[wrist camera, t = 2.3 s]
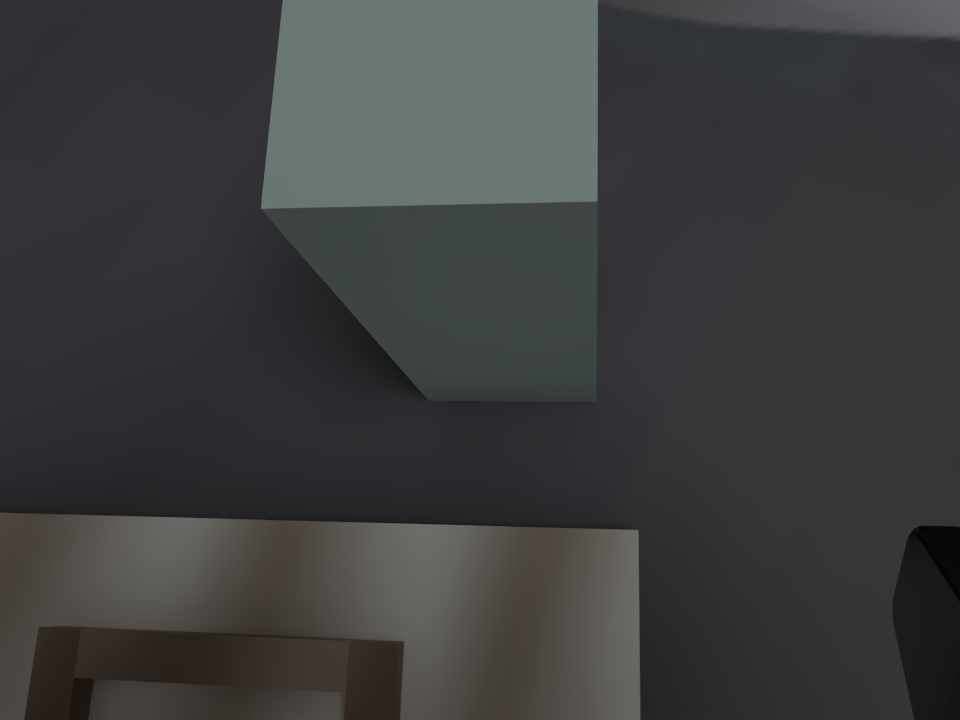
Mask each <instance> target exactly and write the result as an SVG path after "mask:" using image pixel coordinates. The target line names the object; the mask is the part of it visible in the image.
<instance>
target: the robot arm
mask: <svg viewBox="0 0 960 720" xmlns="http://www.w3.org/2000/svg"><path fill="white" fill-rule="evenodd" d="M893 622H894V628H895V633H896V638H897V642H898V647H899V651H900V656H901V660H902V665H903V670H904V674H905V679H906V683H907V688H908V692H909V697H910V702H911V706H912V711H913V715H914V720H960V527H953V526H919V527H917V528H915V529H913V530H912V532H911V533H910V535H909V537H908V540H907V543H906V547H905V552H904V556H903V560H902V564H901V568H900V572H899V576H898V581H897V585H896V589H895V593H894V598H893Z"/></svg>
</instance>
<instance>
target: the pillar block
mask: <svg viewBox="0 0 960 720" xmlns="http://www.w3.org/2000/svg"><path fill="white" fill-rule="evenodd" d="M597 151H598V0H283V5H282V14H281V24H280V33H279V43H278V52H277V61H276V71H275V80H274V90H273V99H272V108H271V118H270V127H269V136H268V146H267V155H266V165H265V174H264V183H263V193H262V202H261V210H262V211H263V212H264V213H265V214H266V215H267V216H268V218H269V219H270V220H271V221H272V222H273V223H274V224H275V226H276V227H277V228H278V229H279V230H280V231H281V232H282V234H283V235H284V236H285V237H286V238H287V239H288V240H289V242H290V243H291V244H292V245H293V246H294V247H295V248H296V250H297V251H298V252H299V253H300V254H301V255H302V256H303V258H304V259H305V260H306V261H307V262H308V263H309V264H310V266H311V267H312V268H313V269H314V270H315V271H316V272H317V274H318V275H319V276H320V277H321V278H322V279H323V280H324V282H325V283H326V284H327V285H328V286H329V287H330V288H331V290H332V291H333V292H334V293H335V294H336V295H337V297H338V298H339V299H340V300H341V301H342V302H343V303H344V305H345V306H346V307H347V308H348V309H349V310H350V311H351V313H352V314H353V315H354V316H355V317H356V318H357V319H358V321H359V322H360V323H361V324H362V325H363V326H364V327H365V329H366V330H367V331H368V332H369V333H370V334H371V335H372V337H373V338H374V339H375V340H376V341H377V342H378V343H379V345H380V346H381V347H382V348H383V349H384V350H385V351H386V353H387V354H388V355H389V356H390V357H391V358H392V359H393V361H394V362H395V363H396V364H397V365H398V366H399V367H400V369H401V370H402V371H403V372H404V373H405V374H406V375H407V377H408V378H409V379H410V380H411V381H412V382H413V383H414V385H415V386H416V387H417V388H418V389H419V390H420V391H421V393H422V394H423V395H424V396H425V397H426V398H427V400H428V401H503V402H597Z"/></svg>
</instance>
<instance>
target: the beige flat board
mask: <svg viewBox="0 0 960 720" xmlns="http://www.w3.org/2000/svg"><path fill="white" fill-rule="evenodd" d="M0 720H640V639H639V540H638V530H618V529H581V528H544V527H507V526H470V525H433V524H397V523H360V522H323V521H286V520H249V519H212V518H176V517H139V516H102V515H65V514H28V513H0Z"/></svg>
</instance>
